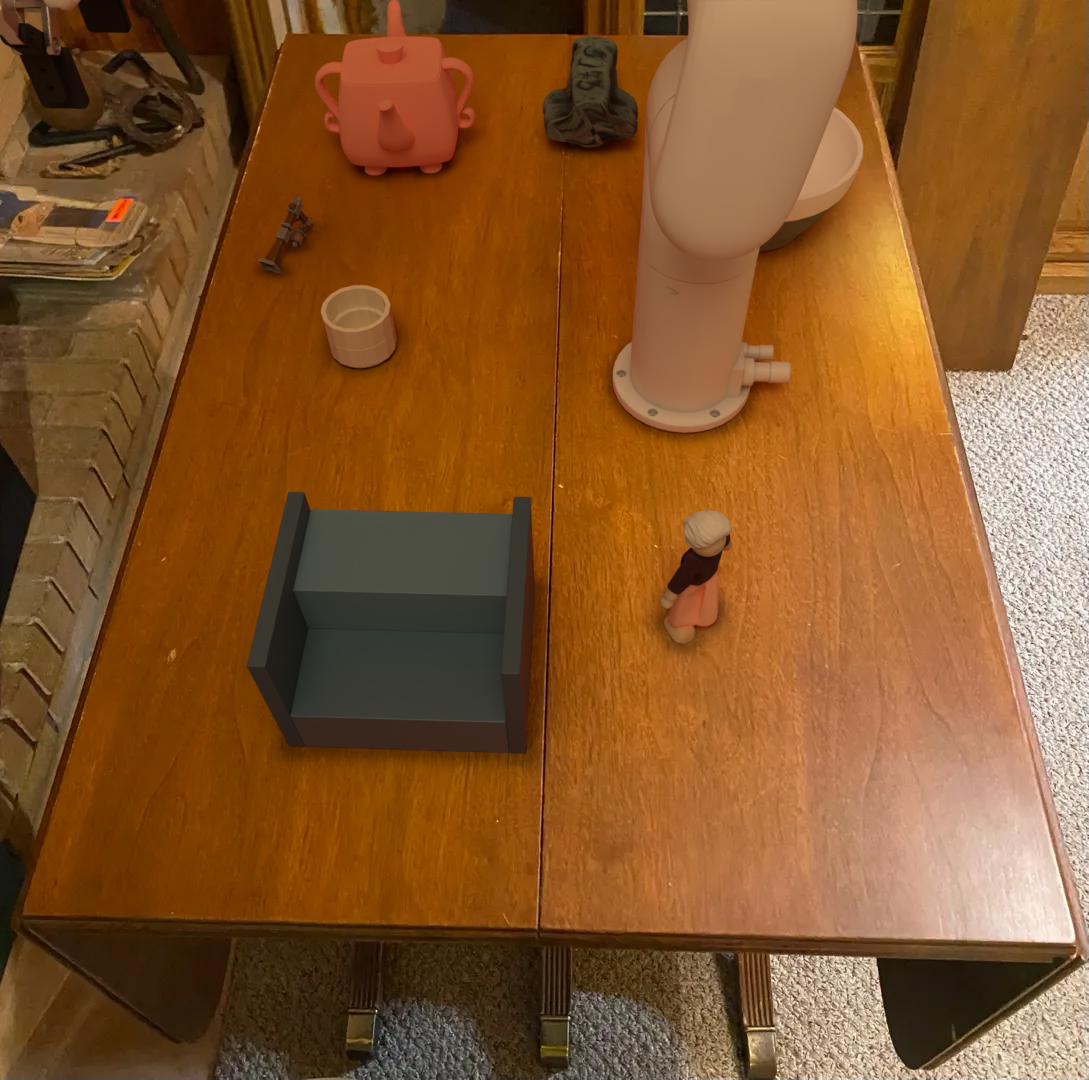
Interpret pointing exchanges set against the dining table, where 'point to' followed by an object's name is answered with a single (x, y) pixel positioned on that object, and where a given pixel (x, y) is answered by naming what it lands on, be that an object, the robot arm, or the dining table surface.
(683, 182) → the robot arm
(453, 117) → the teapot
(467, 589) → the step shelf
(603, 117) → the sculpture
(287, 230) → the wooden post with brackets
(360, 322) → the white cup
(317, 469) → the dining table surface
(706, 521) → the grandmother figurine
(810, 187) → the bowl
